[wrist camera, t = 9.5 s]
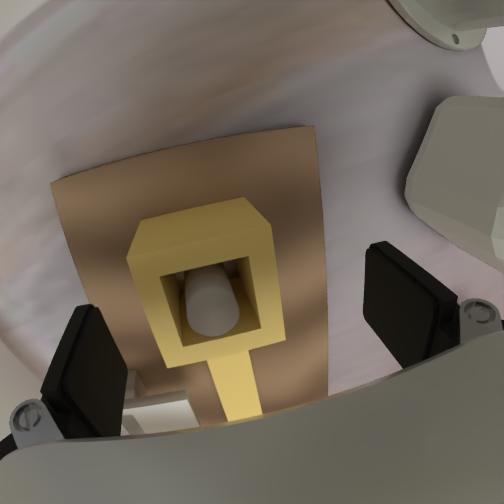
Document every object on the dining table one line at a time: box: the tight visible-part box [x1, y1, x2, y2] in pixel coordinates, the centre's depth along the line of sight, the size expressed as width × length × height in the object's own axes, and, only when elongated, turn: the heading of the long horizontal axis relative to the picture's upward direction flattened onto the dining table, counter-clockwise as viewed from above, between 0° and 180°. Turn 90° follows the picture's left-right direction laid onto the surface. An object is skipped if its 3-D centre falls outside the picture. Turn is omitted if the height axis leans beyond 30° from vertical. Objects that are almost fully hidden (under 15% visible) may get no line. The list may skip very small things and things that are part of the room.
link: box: [126, 197, 286, 422], centre depth 17 cm, size 16×5×5 cm, turn 9°
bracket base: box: [50, 126, 328, 435], centre depth 17 cm, size 22×14×7 cm, turn 8°
